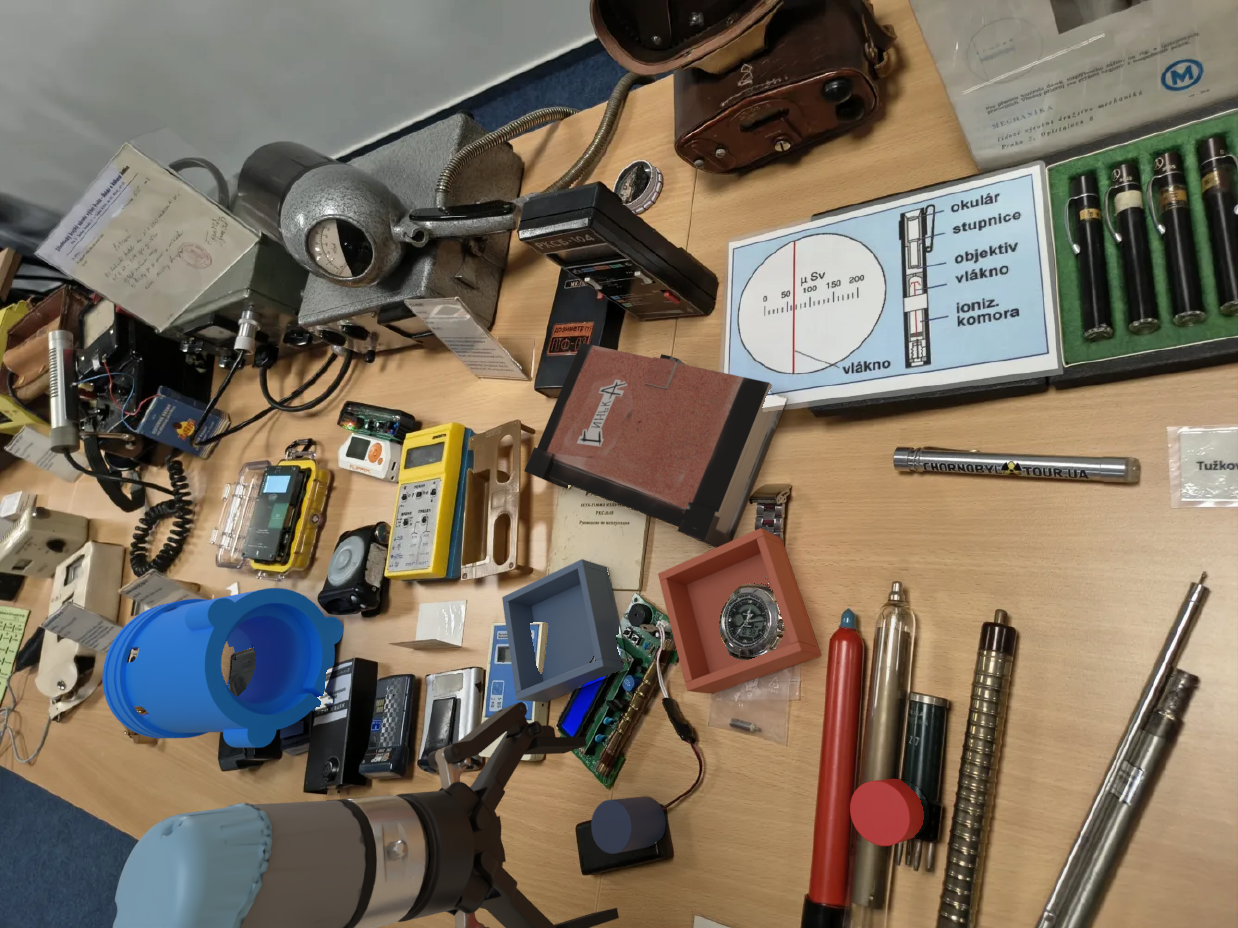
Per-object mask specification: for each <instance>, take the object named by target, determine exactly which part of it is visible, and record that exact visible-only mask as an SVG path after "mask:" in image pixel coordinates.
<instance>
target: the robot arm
mask: <svg viewBox="0 0 1238 928" xmlns="http://www.w3.org/2000/svg"><path fill="white" fill-rule="evenodd" d="M527 714H528V708H527V705H526V703H524V701H518V702H517V703H514V704H510V705H508V706H506V707H503V708H501V709H499V710H497V711H495V712H494V713H493V714H492V715H491V716H489V717H487V719H485V720H484V721H483V722H481V723H480V724H479V725H477V726H476V727H475V728H474V729H472V730H471V731H470V732H468V733H467V734H466V735H464V736H463V737H462V738H461V739H459V740H458V741H457V742H455V743H452V744H449V745H447V746H443V747H441V748H439V749H436V750H433V751H431V752H429V754H428V756H427V762H428V765H429V766H430V767H431V768H432V769H438V774H439V779H440V780H439V781H440V786H441V788H439V789H438V790H433V791H431V790H430V791H419V792H406V793H405V792H404V793H398V794H383V795H382V794H381V795H370V796H359V797H349V798H348V797H347V798H340V799H327V800H312V801H311V800H310V801H296V802H295V801H294V802H277V803H276V802H273V803H252V804H251V803H249V802H242V803H239V802H238V803H235V804H230V805H228V806H226V807H221V808H220V807H219V808H214V809H206V810H200V811H199V810H198V811H192V812H184V813H178V814H174V815H171V816H168V817H166V818H164V819H162V820H160V821H158V822H157V823H155V824H154V825H152V827H150V828H149V829H148V830H147V831H146V832H145V833H144V834H143V835H142V836H141V838H140V839H139V840H138V841H137V843H136V844H135V846H134V847H133V849H132V850H131V852H130V854H129V856H128V857H127V860H126V861H125V864H124V866H123V869H122V871H121V874H120V877H119V880H118V884H117V888H116V892H115V897H114V902H115V905H116V916H115V919H114V921H113V923H112V928H382V927H386V926H389V925H393V924H396V923H402V922H408V921H413V920H415V919H416V920H417V919H421V918H424V917H429V916H433V915H436V914H440V913H448V914H450V915H451V916H454V928H491V927H490V926H485V924H484V923H482V922H479V921H478V920H477V918H476V912H477V911H479V909H483V910H486V911H487V912H488V913H489V914H490V915H491V916H492V917H493V918H494V919H495V920H496V921H498V923H500V924H501V925H502V926H503V927H504V928H593V927H597V926H599V925H602V924H606V923H610V922H611V921H614V920H617V919H620V916H619V911H618V907H614V908H610V909H609V908H608V909H604V910H601V911H595V912H591V913H588V914H584V915H581V916H578V917H575V918H571V919H569V920H565V921H562V922H558V923H556V924H554V923H553V922H551V920H550V919H549V918H548V917H547V916H546V915H545V914H544V913H543V912H542V911H541V910H540V909H539V908H538V907H536V905H534V903H533V902H531V900H530V899H529V898H527V896H526V895H524V893H522V891H521V890H520V889H518V881H517V880H516V879H515V878H514V877H513V876H512V875H511V874H510V873H509V872H508V871H507V870H506V869H505V868H504V867H503V865H504V863H507V862H506V861H507V860H506V853H505V851H506V850H505V848H504V845H503V841H502V822H501V815H497V813H496V809H497V808H498V806H499V804H500V803H501V801H502V799H503V798H504V796H505V794H506V791H505V787H506V786H507V784H508V782H509V780H510V778H511V777H512V776H513V774H514V772H515V771H516V769H517V768H518V766H519V764H520V762H521V761H522V759H523V758H524V756H525V755H526V756H527V755H556V754H557V755H559V754H566V753H570V752H571V751H575V750H578V749H581V748H584V747H586V746H587V747H588V744H587V739H586V736H556V730H555V727H554V726H552V725H545V724H543V725H542V723H541V722H539V721H538V720H535V721H531V722H528V720H527V717H526V716H527ZM502 735H503V736H502ZM500 737H502V738H501V739H500V741H499V742H498V745H497V746H496V748H495V749H494V750H493V752H492V753H491V755H490V756H489V758H488V760H487V761H486V763H485V764H484V766H483V767H482V769H481V770H480V772H479V773H478V775H477V777H476V778H475V779H474V781H473V783H472V784H471V785H470V786H469V784H467V783H465V782H462V781H461V775H462V773H464V772H465V771H466V770H467V768H468V766H470V765H471V763H472V759H471V758H474V757H476V756H477V755H479V754H480V753H483V751H484V750H486V749H487V748H488V747H489V746H490V745H492V744H493V743H494V742H496V740H498V739H499V738H500Z"/></svg>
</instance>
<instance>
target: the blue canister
mask: <svg viewBox="0 0 1238 928" xmlns="http://www.w3.org/2000/svg"><path fill="white" fill-rule="evenodd" d="M590 822H591V825H590V828H591V829H590V830H591V835H592V837H593V840H594V842H595V844H596V846H597V847H598V848H599V849H600V850H601V851H603V852H604V853H607V854H609V855H614V854H620V853H626V852H630V851H636V850H642V849H647V848H651V847H650V846H652V845H653V844H654V843H655V842H656V841H658V840H660V839H661V838H662V839H663V837H664V836H665V831H666V827H667V820H666V815H665V811H664V809H663V807H662V806H661V804H660V803H659V802H658V801H657V800H655V799H654V798H653V797H650V796H636V797H635V796H634V797H625V798H624V797H623V798H614V799H606V800H603V801H602V802H601V803H599V804H598V805H597V806H596V807H595V809H594V811H593V814H592V817H591V821H590ZM662 839H661V840H662ZM661 840H660V841H661ZM652 847H653V846H652Z"/></svg>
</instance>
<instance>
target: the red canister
mask: <svg viewBox="0 0 1238 928" xmlns="http://www.w3.org/2000/svg"><path fill="white" fill-rule="evenodd" d="M900 779H901V778H899V779H895V778H887V779H879V780H871V781H870V780H869V781H867V782H865V783H862V784H861V785H859V786H858V787H857V788H856V789H855V790H854V792H853V794H852V795H851V799H850V804H849V812H850V818H851V822H852V823H853V824H852V825H853V826H854V828H855V829H856V831H857V832H858V834H859V835H860V836H861V837H862V838H863V839H865V840H866V841H868V842H869V843H871V844H873V845H875V846H881V847H890V846H894V845H896V844H900V843H902V842H905V841H908V840H911V839H914V838H915V837H914V836H915V835H916V834H917V833H918V832H919V830H920V829H921V827H922V825H923V820H924V811H923V806H922V804H921V800H920V798H919V797H918V796H917V794H916V793H915V792H914V791H913V790H912V789H911V788H910V786H908V785H907V784H906V783H904V782H903V781H901V780H900ZM913 837H914V838H913Z"/></svg>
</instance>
